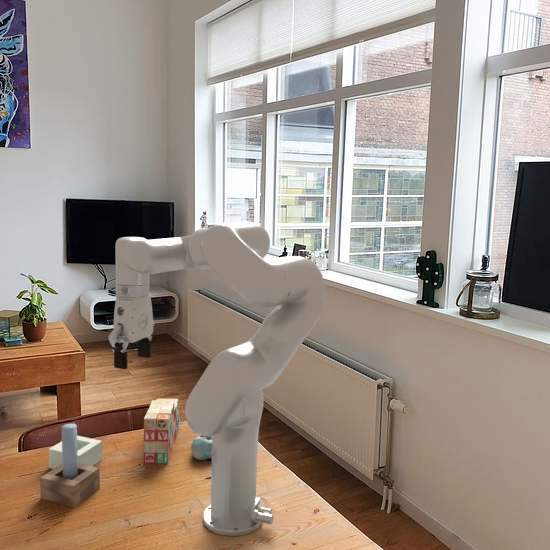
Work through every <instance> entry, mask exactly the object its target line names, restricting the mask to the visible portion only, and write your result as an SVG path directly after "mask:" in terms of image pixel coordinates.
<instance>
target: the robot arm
mask: <svg viewBox="0 0 550 550" xmlns="http://www.w3.org/2000/svg"><path fill="white" fill-rule="evenodd" d="M270 247H271V238H270V235H269V234H268V231H267V230H266V229H265V227H263V226H262V225H260V224H258V223H256V222H252V221H237V222H236V221H233V222H231V221H230V222H221V223H217V224H214V225H212V226H210V227H205V228H199V229H196V230H195V231H194V232H193V233H192V234H191V235H185V236H179V237H178V236H177V237H167V238H155V239H146V238H145V237H140V236H123V237H119V238H118V239H117V240H116V242H115V304H114V310H113V311H114V312H113V313H114V314H113V330H112V331H111V332H110V334H108V336H107V337H108V340H109V341H108V342H109V345H110V347H111V348H112V349H111V350H112V352H113V367H114V368H115V369H122V370H126V369H128V351H126V350H127V348H128V346H129V343H132V344H133V343H137V354H138V355H137V356H138V357H141V358H145V359H146V358H147V359H149V358H151V357H152V354H151V353H152V352H151V348H152V347H151V344H152V343H151V341H152V339H153V333H154V326H155V323H156V321H155V320H154V314H153V303H152V300H151V299H152V298H151V294H150V275H154V274H155V275H156V274H161V273H168V272H173V271H182V270H190V269H196V268H198V269H200V270H204V271H205V270H206V271H207V270H213V271H214V272H215V273H216V274H217V275H218V276H219V277H220V278H221V279H222V280H223V281H225V282H226V284H228V285H229V286H230V287H231V288H232V289H233V290H234V291H235V292H236V293H237V294H238V295H239V296H240V297H241V298H242V299H244V301H246V302H247V303H249V304H251V305H252V306H255V307H258V308H265V309H266V308H272V307H275V308H274V309H273V310H272V311H271V312H270V313H268V315H267V316H266V317H265V318H264V320H263V321H262V323H261V324H260V326H259V327H258V329H257V330H256V332H255V334H253V336H252V337H251V338H250V339H249V340H247V341H245V342H243V343H240V344H238V345H236V346H233V347H229V348H227V349H224V350H223V351H221V352H220V353H218V354H217V355H216V356H215V357H213V359H212V360H211V361H210V362H209V364H208V365H207V367H206V368H205V369H204V371H203V373H202V375H201V376H200V378H199V379H198V381H197V383H196V384H195V386H194V387H193V389H192V390H191V392H190V394H189V396H188V398H187V401H186V404H185V418H186V421H187V425H189V426H188V427H190V429H191V430H192V431H193V432H194V433H195V434H197V435H198V436H212V437H213V440H212V458H211V469H210V470H211V473H210V474H211V479H210V482H211V483H210V484H211V485H210V486H211V487H210V505H209V506H207V507H206V508H205V510H204V511H203V513H202V514H203V517H202V520H203V524H204V526H205V527H206V528H207V529H209V530H210V531H212V532H213V533H215V534H219V535H222V536H229V537H234V536H235V537H236V536H243V535H247V534H250V533H251V532H254V531H255V530H257V529H258V528H259V527H260V526H261V524H268V525H272V524H273V523H274V522H273V521H274V514H272V512H273V510H272V508H271V507H263V505H261V497H257V476H258V475H257V473H258V472H257V471H258V467H257V466H258V450H259V448H258V446H259V445H258V444H259V433H260V425H261V424H260V423H261V419H262V413H263V410H264V404H265V403H264V400H265V397H264V391H263V389H266V388H268V387H269V386H271V385H273V384H274V383H275V382H276V381H277V380H278V378H279V377H280V376H281V374H282V372H283V371H284V370H285V368H286V367H287V365H288V364H289V362H290V361H291V360H292V358H293V357H294V356H295V355H296V353H297V351H298V350H299V348H300V347H301V346H302V343H303V342H304V341H305V340H306V339H307V337H308V336H309V334H310V333H311V331H312V330H313V329H314V327H315V325H316V324H317V322H318V321H319V319H320V317H321V314H322V312H323V309H324V307H325V306H324V305H325V301H326V284H325V280H324V276H323V274H322V271H321V270H320V268H319V267H318V266H317V264H316V263H315V262H314V261H312V260H311V259H309V258H306V257H303V256H299V255H298V256H297V255H291V256H282V257H277V258H276V257H275V258H269V259H264V258H265V257H266V256H267V254H268V253H269V250H270ZM121 343H122V344H121Z"/></svg>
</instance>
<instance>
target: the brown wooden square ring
mask: <svg viewBox="0 0 550 550" xmlns="http://www.w3.org/2000/svg"><path fill="white" fill-rule="evenodd" d="M100 471H101V470H100V467H98V466H95V465H94V466H89V465H85V464H81V463H78V476H77V477H76V478H74V479H73V480H70V479H66V478H63V463H62V464H61V465H59V466H58V467H56V468H55V469H51V470H50V471H48V472H47V473H45V474H44V475H42V476H40V477H39V485H40V486H39V487H40V499H41V500H44V501H48V502H52V503H56V504H60V505H63V506H67V507H70V508H75V507H77V506H78V505H79V504H81V503H83V501H84V500H86V499H87V498H89V497H90V496H91V495H93V494H94V493H95V492H97V491H98V490H99V489H100V488H101V487H100V486H101V485H100V484H101V483H100V481H101V480H100V479H101V478H100Z"/></svg>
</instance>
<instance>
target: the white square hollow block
mask: <svg viewBox="0 0 550 550" xmlns="http://www.w3.org/2000/svg"><path fill="white" fill-rule="evenodd" d="M103 457H104V456H103V440H101V439H100V440H99V439H96V438H95V439H94V438H90V437H87V436H82V435H81V436H80V435H77V458H78V463H81V464H85V465H89V466H94V467H95V465H97V464H99V463H100V462H101V461H103ZM62 463H63V462H62V440H60V442H59V443H56V444H55V445H53V446H52V447H50V448H48V468H49V469H51V470H53V469H55V468H56V467H58V466H59V465H61V464H62Z"/></svg>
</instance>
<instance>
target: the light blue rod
mask: <svg viewBox="0 0 550 550" xmlns="http://www.w3.org/2000/svg"><path fill="white" fill-rule="evenodd" d="M77 428H78V426H77V424H76V423H65V424H63V425H61V441H62V462H63V478H66V479H70V480H73V479H74V478H76V477H77V476H78V458H77V436H78V429H77Z"/></svg>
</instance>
